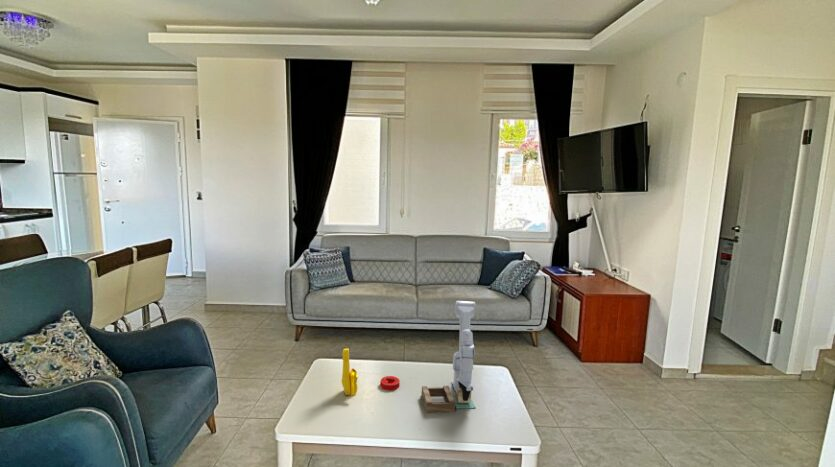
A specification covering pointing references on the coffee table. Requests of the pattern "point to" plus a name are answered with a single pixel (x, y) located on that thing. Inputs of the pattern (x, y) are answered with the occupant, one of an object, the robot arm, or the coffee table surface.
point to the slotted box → (438, 399)
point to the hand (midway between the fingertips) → (464, 397)
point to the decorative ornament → (390, 383)
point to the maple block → (460, 397)
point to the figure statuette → (348, 375)
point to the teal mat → (464, 404)
